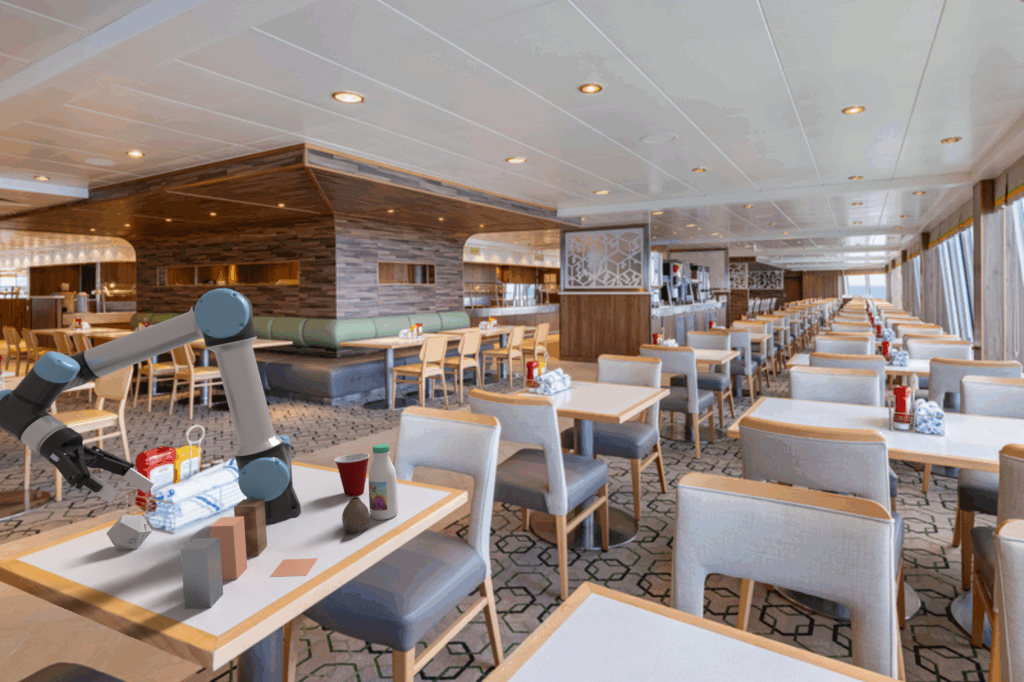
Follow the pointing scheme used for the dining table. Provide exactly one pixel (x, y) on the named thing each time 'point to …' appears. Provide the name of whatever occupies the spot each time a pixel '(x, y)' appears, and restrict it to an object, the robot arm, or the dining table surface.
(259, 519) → the walnut post
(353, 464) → the plastic cup
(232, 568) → the terracotta post
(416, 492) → the dining table surface
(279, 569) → the terracotta coaster
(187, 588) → the grey post
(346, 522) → the vase
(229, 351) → the robot arm
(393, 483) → the milk bottle
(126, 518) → the die
